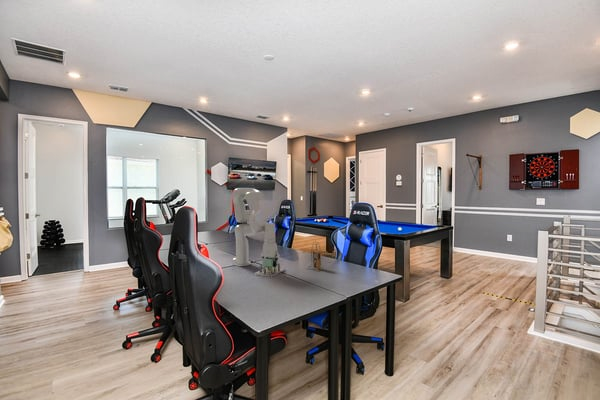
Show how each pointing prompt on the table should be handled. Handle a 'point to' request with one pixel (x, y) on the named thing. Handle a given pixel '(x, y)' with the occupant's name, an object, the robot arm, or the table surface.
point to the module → (269, 262)
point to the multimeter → (316, 258)
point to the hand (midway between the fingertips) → (270, 265)
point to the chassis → (269, 271)
